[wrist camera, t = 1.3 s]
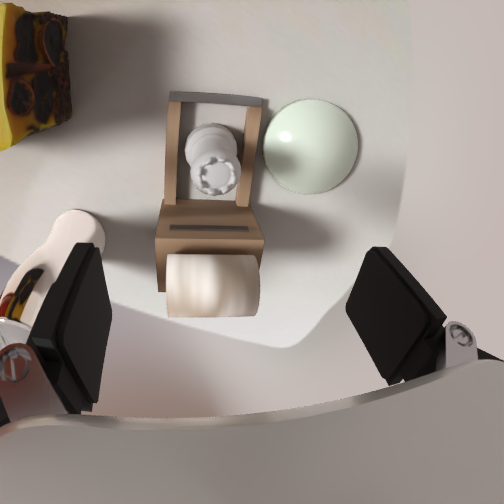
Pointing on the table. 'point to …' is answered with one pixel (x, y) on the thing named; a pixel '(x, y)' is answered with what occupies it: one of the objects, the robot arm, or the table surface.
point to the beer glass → (43, 273)
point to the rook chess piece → (213, 159)
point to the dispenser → (209, 230)
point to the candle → (32, 73)
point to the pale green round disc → (310, 146)
